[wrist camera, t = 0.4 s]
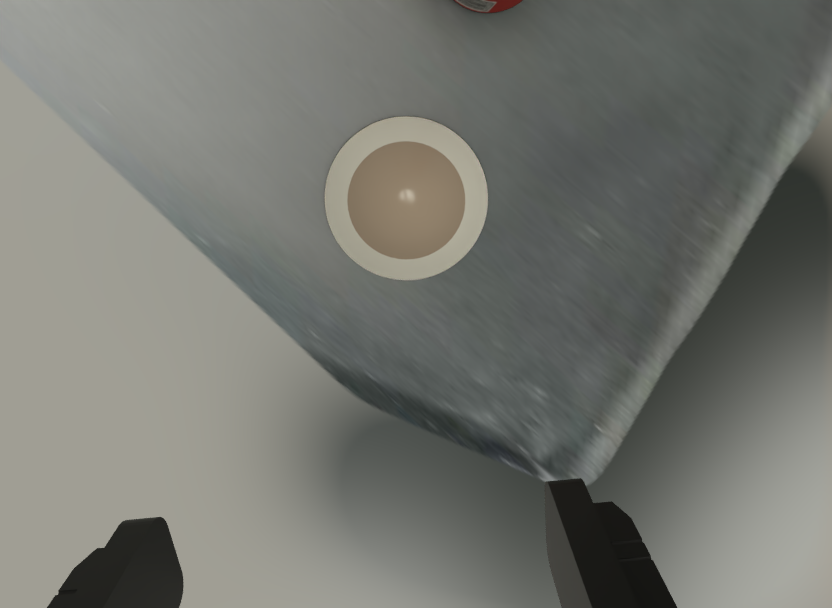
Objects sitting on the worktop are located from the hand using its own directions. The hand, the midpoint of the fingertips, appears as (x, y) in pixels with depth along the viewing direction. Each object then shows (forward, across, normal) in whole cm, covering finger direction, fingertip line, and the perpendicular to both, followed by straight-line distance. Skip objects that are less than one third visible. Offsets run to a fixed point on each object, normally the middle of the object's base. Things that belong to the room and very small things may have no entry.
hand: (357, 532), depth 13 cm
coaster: (+27, -1, -2) cm, 27 cm away
